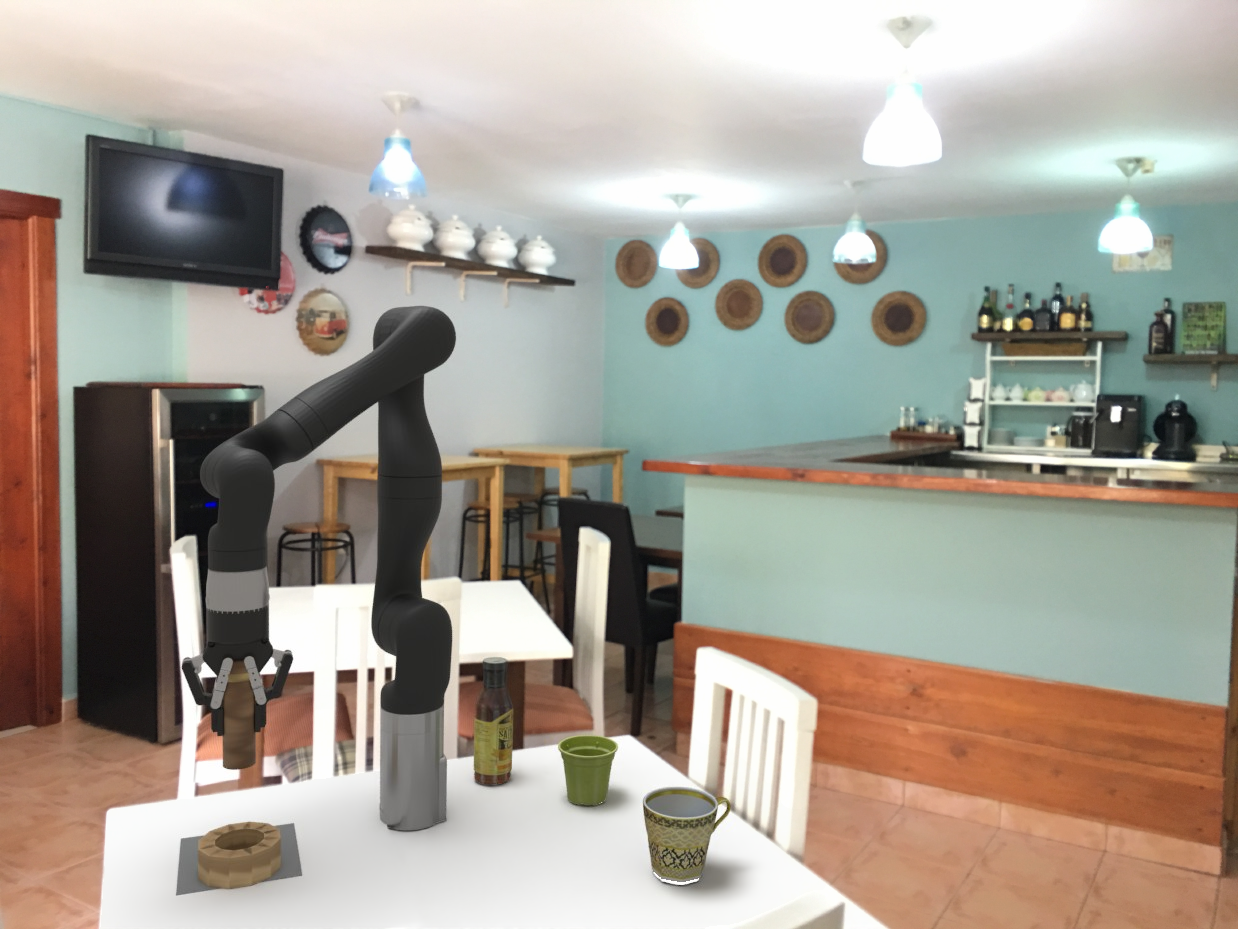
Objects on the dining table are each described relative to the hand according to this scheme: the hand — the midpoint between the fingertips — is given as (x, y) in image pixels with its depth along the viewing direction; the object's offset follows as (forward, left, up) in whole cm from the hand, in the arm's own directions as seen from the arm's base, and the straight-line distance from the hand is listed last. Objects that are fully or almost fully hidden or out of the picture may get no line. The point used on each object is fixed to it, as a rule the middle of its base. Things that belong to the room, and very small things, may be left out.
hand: (238, 731), depth 128 cm
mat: (0, -3, -19) cm, 19 cm away
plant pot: (-51, -7, -19) cm, 55 cm away
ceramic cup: (-56, +19, -19) cm, 62 cm away
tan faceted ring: (0, 0, -18) cm, 18 cm away
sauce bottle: (-39, -19, -19) cm, 47 cm away
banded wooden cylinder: (0, 0, -4) cm, 4 cm away
